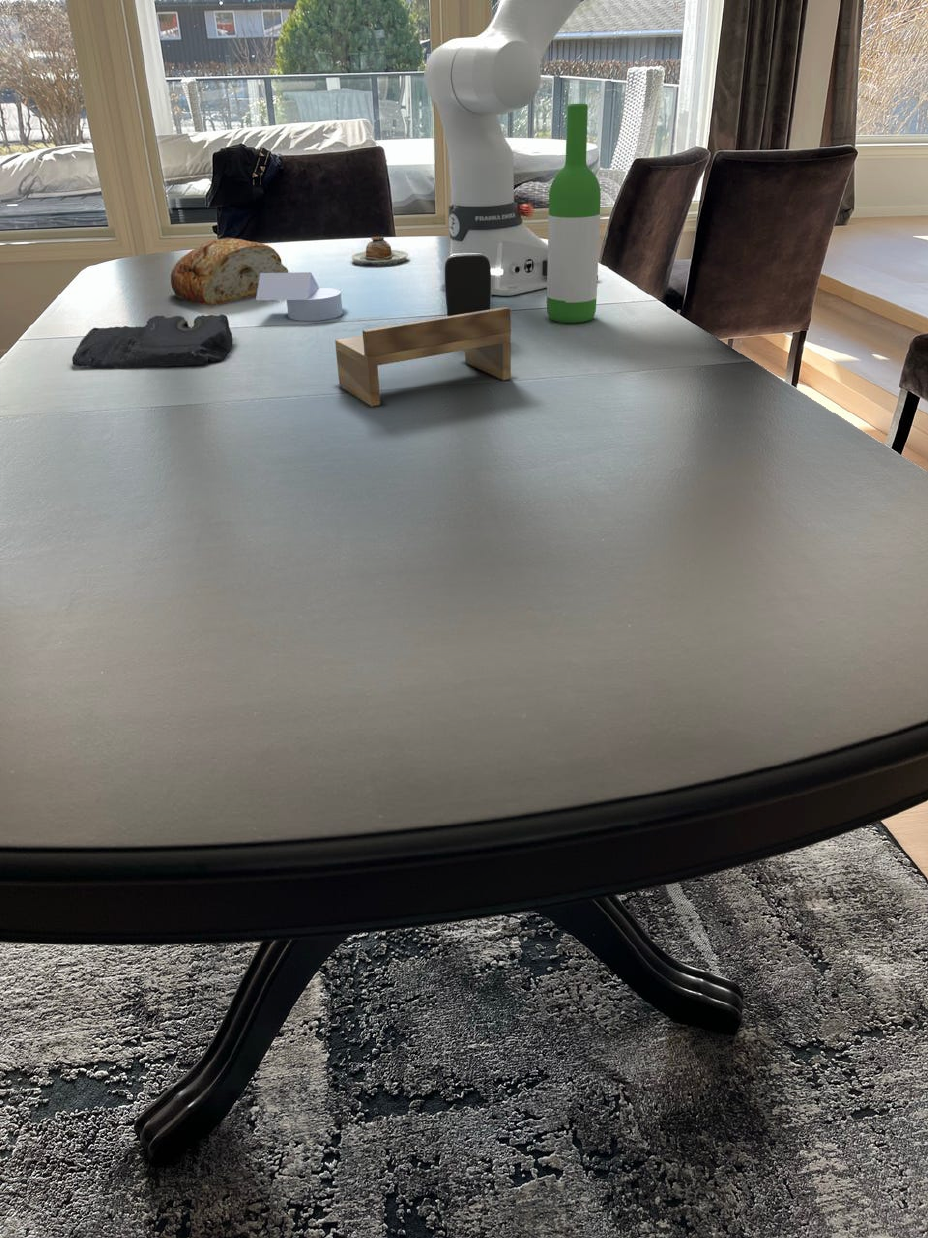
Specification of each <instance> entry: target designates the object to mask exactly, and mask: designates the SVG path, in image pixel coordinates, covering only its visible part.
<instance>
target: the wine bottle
mask: <svg viewBox="0 0 928 1238" xmlns="http://www.w3.org/2000/svg"><path fill="white" fill-rule="evenodd" d="M588 106H589V105H588V104H587V103H569V104H568V105H566V135H565V138H566V140H565V162H564V166H563V168H562V169H561V170H560V171H559V172H557V174H556V175H555V176H554V178H553V180H552V181H551V184H550V188H549V192H548V217H547V220H548V221H547V222H548V223H547V224H548V226H547V245H548V268H547V288H546V314H547V317H548V318H549V320H551V321H553V322H556V323H561V324H581V323H586V322H589V321H591V320H593V319H594V317H595V315H596V312H597V296H598V280H597V277H598V278H599V274H598V273H599V251H600V250H599V249H600V227H601V226H600V225H601V202H602V201H601V200H602V199H601V197H602V193H601V185H600V181H599V180H598V177H597V176H596V174H595V173H594V172H593V171H592V170H591V169H590V168H589V167H588V164H587V147H588V145H587V144H588V115H589V113H588V112H589V107H588Z"/></svg>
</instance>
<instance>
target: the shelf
mask: <svg viewBox="0 0 928 1238" xmlns="http://www.w3.org/2000/svg"><path fill="white" fill-rule="evenodd" d="M511 312H512V311H511V307H508V306H503V307H498V308H497V307H496V308H491V309H490V310H484V311H478V312H472V313H465V314H459V315H453V316H447V315H446V316H441V317H435V318H429V319H422V320H416V321H411V322H410V321H409V322H403V323H398V324H391V325H385V326H380V327H373V328H368V329H363V330H362V334H361V335H356V336H350V337H345V338H338V339H335V340H334V342H335V354H336V355H335V356H336V363H337V365H336V366H337V373H338V374H337V375H338V385H339V386H338V387H339V388H342V389H343V390H345V391H346V392H347V393H349V394H351V395H353V396H354V397H356V398H357V399H359V400H361V401H362V402H364V403H365V404H367V405H368V406H370V407H376V406H377V407H378V406H381V395H380V393H381V392H380V380H379V368H378V367H379V366H383V365H389V364H394V363H395V364H396V363H400V362H405V361H411V360H416V359H422V358H428V357H433V356H438V355H444V354H450V353H455V352H460V351H464V360H465V362H464V363H465V364H467V365H470V366H471V367H474V368H476V369H478V370H480V371H483V372H484V373H487V374H489V375H491V376H493V377H495V378H497V379H499V380H502V381H507V380H511V379H512V359H511V358H512V354H511V353H512V351H511V350H512V348H511V344H512V342H511V341H512V340H511V338H512V336H511V334H512V333H511V331H512V328H511V327H512V326H511V325H512V324H511V322H512V321H511V319H512V318H511Z"/></svg>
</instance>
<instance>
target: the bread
mask: <svg viewBox="0 0 928 1238" xmlns="http://www.w3.org/2000/svg"><path fill="white" fill-rule="evenodd" d="M260 273H290V271H289V270H288V267H287V266H285V265H284V264H283V262H282V258H281V256H280V254H279V253H278V252H277V251H276V250H275V249H274V247H271V246H270V245H268V244H265V243H260V242H257V241H250V240H245V239H241V238H234V237H223V238H215V239H212V240H210V241H208V242H206V243H204V244H202V245H199V246H198V247H196V248H194V249H192V250H190V251H189V252H187V253H186V254H185V255H183V256H181V258H180V259H179V260H177V262H176V263H175V265H174V267H173V268H172V270H171V273H170V285H171V289H172V291H173V293H174V295H175V297H178V298H180V299H182V300H184V301H186V302H190V303H194V304H199V305H205V306H206V305H207V306H212V305H213V306H214V305H221V304H224V303H228V302H233V301H236V300H240V299H246V298H247V299H248V298H251V297H255V296H257V290H258V284H259V278H260Z"/></svg>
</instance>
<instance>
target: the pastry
mask: <svg viewBox="0 0 928 1238" xmlns="http://www.w3.org/2000/svg"><path fill="white" fill-rule="evenodd" d="M370 240H372V241H370V242H368V243H367V245H366V246H365V251H362V252H357V253H355V254H353V255H351V256H350V259H351V260H352V261H353V264H356V265H359V266H377V267H380V266H381V267H383V266H395V265H398V264H401V263H404V262H406V261H407V260H406V258H407V257H408V256H409V253H408V252H406V251H402V250H397V249H392V247H391V245H390V244H389V242H387V241H386V240H385V237H384V236H373V237H372V236H371V238H370Z"/></svg>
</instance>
